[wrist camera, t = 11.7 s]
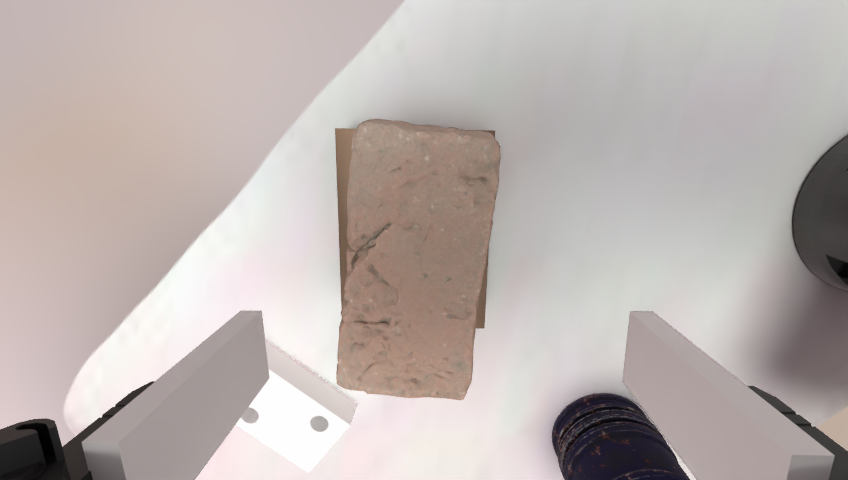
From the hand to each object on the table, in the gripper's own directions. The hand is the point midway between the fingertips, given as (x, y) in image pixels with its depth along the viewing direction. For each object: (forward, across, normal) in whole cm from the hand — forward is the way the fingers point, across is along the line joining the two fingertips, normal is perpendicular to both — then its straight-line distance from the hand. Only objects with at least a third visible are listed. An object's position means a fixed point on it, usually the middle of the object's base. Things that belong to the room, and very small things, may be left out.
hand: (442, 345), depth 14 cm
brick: (+13, +2, 0) cm, 13 cm away
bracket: (+23, +16, +17) cm, 33 cm away
